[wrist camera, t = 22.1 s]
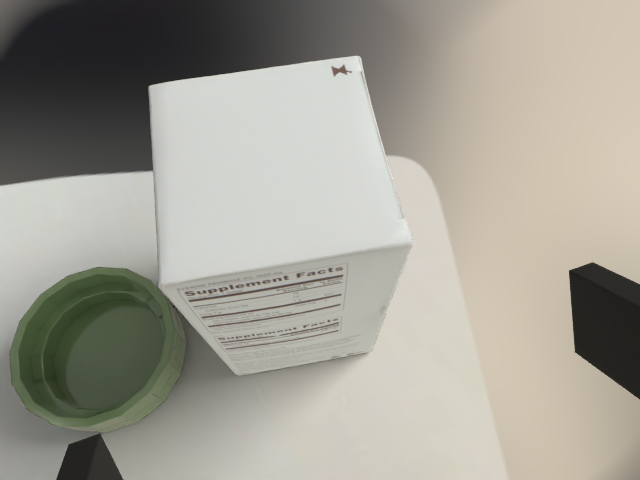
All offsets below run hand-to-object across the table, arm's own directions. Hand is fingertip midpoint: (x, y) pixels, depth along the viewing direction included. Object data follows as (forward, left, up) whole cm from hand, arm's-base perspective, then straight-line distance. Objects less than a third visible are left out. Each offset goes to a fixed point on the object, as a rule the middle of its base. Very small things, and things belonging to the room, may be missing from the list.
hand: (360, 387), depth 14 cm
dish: (-12, +10, -19) cm, 24 cm away
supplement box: (0, +9, -19) cm, 21 cm away
